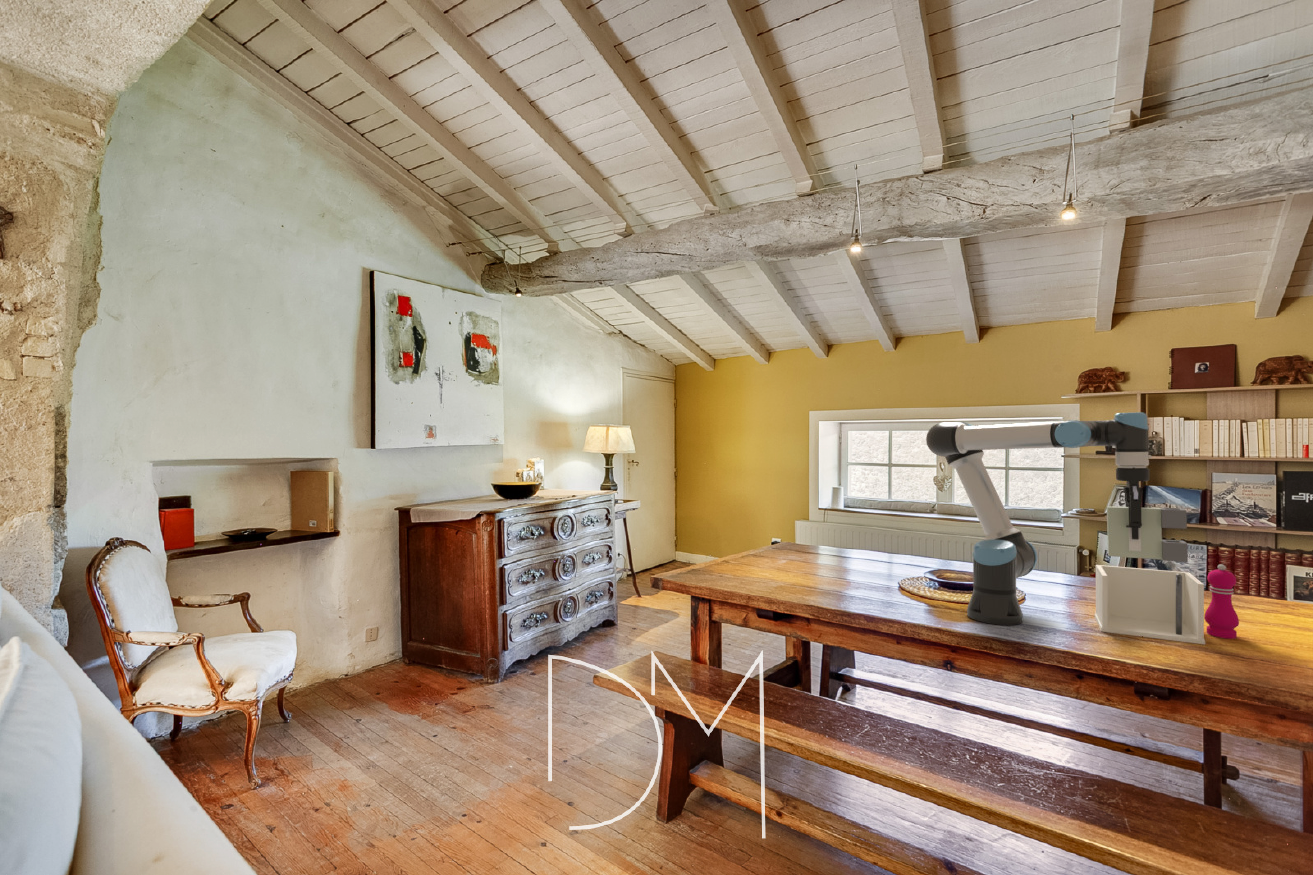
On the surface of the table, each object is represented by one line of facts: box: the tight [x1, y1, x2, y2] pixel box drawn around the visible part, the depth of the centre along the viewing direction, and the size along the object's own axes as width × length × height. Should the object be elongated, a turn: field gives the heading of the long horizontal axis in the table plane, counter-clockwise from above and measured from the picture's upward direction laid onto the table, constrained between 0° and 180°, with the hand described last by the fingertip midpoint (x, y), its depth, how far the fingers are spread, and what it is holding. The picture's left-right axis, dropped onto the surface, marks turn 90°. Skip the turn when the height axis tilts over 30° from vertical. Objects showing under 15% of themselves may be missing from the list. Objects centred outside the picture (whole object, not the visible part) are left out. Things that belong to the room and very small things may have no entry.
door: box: [1106, 506, 1189, 563], centre depth 175 cm, size 17×5×14 cm, turn 58°
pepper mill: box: [1204, 563, 1240, 640], centre depth 175 cm, size 7×7×20 cm
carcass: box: [1094, 564, 1206, 645], centre depth 180 cm, size 23×16×16 cm
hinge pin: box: [1176, 574, 1182, 635], centre depth 173 cm, size 1×1×17 cm
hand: (1134, 549), depth 176 cm, fingers closed on door, 2 cm apart
